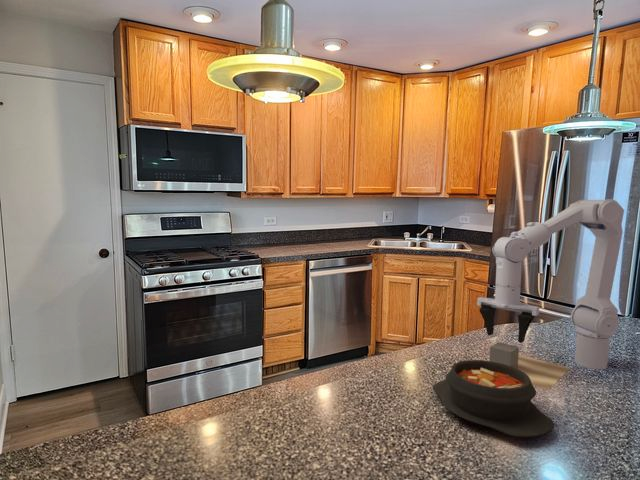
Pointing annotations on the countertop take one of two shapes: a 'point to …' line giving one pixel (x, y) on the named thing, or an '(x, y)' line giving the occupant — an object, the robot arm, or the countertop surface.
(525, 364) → the board
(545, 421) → the casserole
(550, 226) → the robot arm
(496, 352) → the grey cube
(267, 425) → the countertop surface
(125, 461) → the countertop surface
